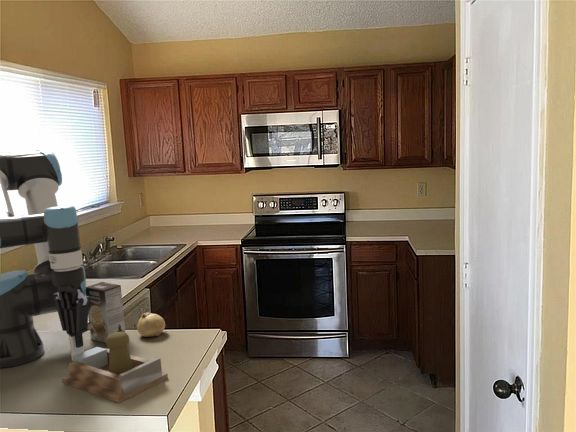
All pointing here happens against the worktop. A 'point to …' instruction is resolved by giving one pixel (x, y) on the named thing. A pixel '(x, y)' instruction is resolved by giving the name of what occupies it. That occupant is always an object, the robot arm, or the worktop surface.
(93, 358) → the block
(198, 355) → the worktop surface
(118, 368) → the cork
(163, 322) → the onion
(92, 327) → the coffee box
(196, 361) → the worktop surface
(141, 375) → the rail board
